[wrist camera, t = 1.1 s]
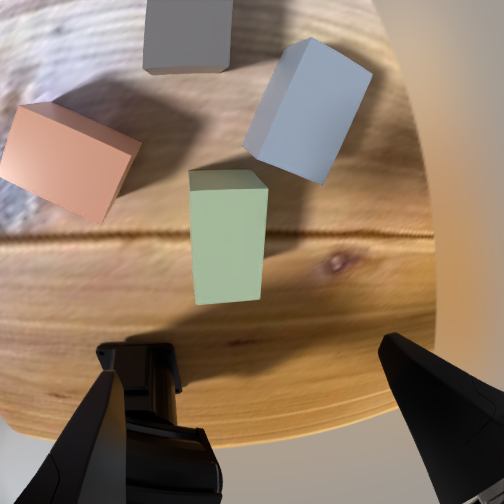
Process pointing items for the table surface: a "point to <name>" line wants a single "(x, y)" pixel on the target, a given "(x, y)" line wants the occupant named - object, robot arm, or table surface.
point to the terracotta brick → (67, 158)
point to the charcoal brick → (187, 36)
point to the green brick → (227, 234)
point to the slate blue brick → (307, 110)
